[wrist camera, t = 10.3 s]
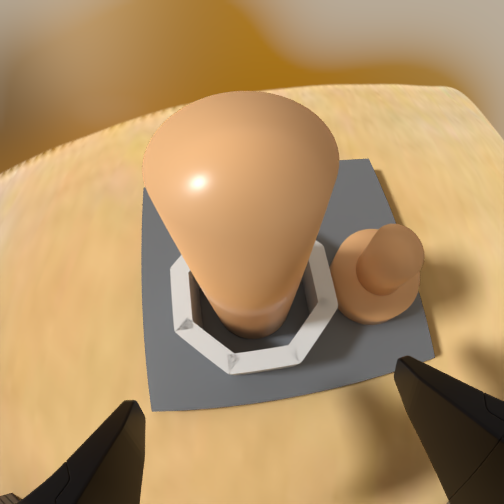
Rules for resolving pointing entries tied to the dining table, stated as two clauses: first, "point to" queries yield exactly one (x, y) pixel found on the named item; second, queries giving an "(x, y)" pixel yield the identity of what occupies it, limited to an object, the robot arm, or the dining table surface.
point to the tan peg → (243, 199)
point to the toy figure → (8, 499)
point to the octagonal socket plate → (300, 314)
